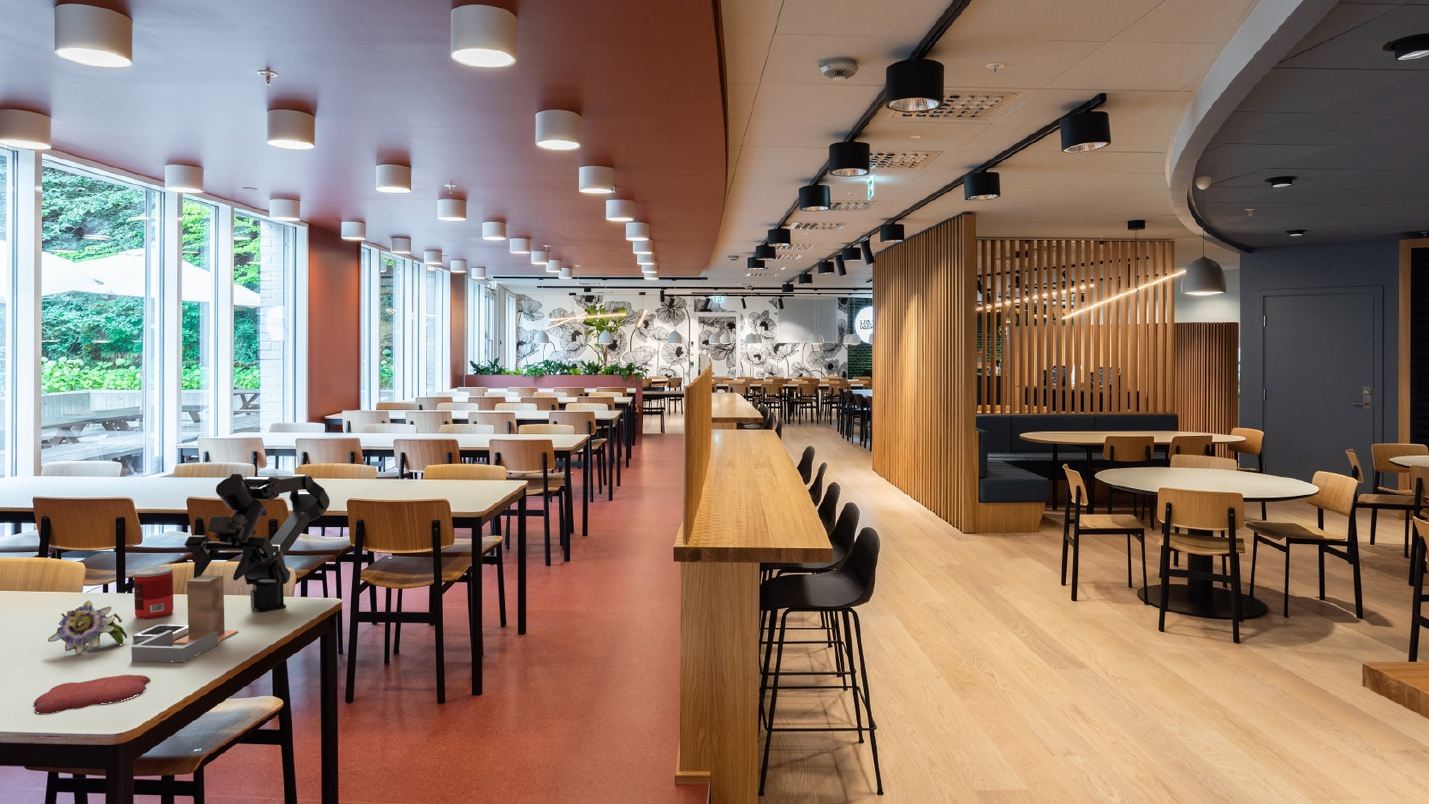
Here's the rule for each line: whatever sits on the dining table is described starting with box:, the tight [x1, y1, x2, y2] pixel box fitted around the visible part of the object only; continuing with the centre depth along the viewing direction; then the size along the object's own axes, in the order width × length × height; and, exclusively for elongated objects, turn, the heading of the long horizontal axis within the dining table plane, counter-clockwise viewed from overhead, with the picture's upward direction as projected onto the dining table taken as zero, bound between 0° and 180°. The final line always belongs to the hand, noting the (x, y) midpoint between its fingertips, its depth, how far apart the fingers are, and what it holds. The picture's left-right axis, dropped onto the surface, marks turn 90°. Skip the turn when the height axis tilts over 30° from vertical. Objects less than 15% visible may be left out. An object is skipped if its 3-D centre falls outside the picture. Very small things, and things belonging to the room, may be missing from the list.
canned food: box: [133, 566, 174, 620], centre depth 211 cm, size 8×8×11 cm
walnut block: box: [186, 574, 226, 640], centre depth 193 cm, size 5×5×13 cm
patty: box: [33, 674, 151, 714], centre depth 161 cm, size 18×14×2 cm
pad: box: [172, 629, 239, 645], centre depth 194 cm, size 9×9×1 cm
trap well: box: [132, 623, 188, 643], centre depth 194 cm, size 8×8×2 cm
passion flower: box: [47, 600, 128, 656], centre depth 187 cm, size 11×11×12 cm
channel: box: [131, 630, 218, 663], centre depth 184 cm, size 11×11×3 cm
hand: (214, 579), depth 196 cm, fingers open, 9 cm apart
